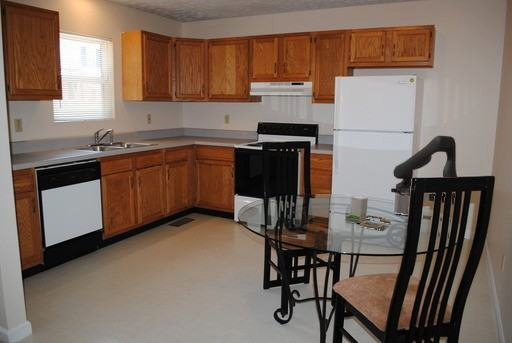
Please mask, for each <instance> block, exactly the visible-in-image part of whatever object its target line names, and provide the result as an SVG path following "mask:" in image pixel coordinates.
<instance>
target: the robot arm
mask: <svg viewBox="0 0 512 343" xmlns="http://www.w3.org/2000/svg"><path fill="white" fill-rule="evenodd" d="M438 152H439V153H445V155H446V161H445V165H444V166H443V169H442V178H443V177H457V178H458V174H457V167H456V166H457V163H456V162H457V154H456V153H457V145H456V140H455V138H454V137H452V136H448V135H436V136H435V137H433V138H432V140H431V141H430V142H428V144H426V145H425V146H424V147H422V149H421V148H420V150H419V151H417V152H416V153H414V154H412V156H410V157H409V158H408V159H406V160H404V161H403V162H401V163H399V164H398V165H396V166H395V167H394V169H393V173H392V174H393V176H394V178H395V179H398V180H401V181H400V182H398V183H396V184H395V187H392V188H391V189H390V192H391V193H395V195H394V211H393V213H394V212H396V213H403V214H408V207H409V208H410V202H409V196H410V197H411V195H410V189H411V187H412V185H411V179H412V180H413V176H414V171H415V170H419V169H421V168H423V167H425V166H427V165H428V164H429V163H430V162H431V161H432V157H433V156H432V155H434V154H436V153H438ZM434 196H435V194H433V193H432V194H425V195H424V202H434ZM444 197H445V194H444V193H443V196H442V202H441V203H442V204H445V203H444ZM454 198H455V193H453V194H452V205H453V206H455V205H454Z"/></svg>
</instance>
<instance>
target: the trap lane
mask: <svg viewBox="0 0 512 343" xmlns="http://www.w3.org/2000/svg"><path fill="white" fill-rule="evenodd" d="M368 217H372V218H379V219H380V222H384V223H390V224H391V220H387V219H386V217H383V216H377V215H371V214H366V218H368ZM346 221H347V222H346ZM345 222H346V223H348V222H354V223H360V225H359V227H360V226H362V227H367V228H374V229H378V230H377V231H380V230H379V229H381V228H383V229H385V224H383V223H380V222H379V223H380V225H378V226H377V225H371V224H367V221H366V222H365V221H359V220H358V219H352V218H350V213H349V214H347V215H345ZM354 223H353V224H354ZM362 227H361V228H362ZM367 228H366V229H367ZM381 230H382V229H381Z"/></svg>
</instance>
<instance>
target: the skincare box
mask: <svg viewBox="0 0 512 343" xmlns="http://www.w3.org/2000/svg"><path fill="white" fill-rule="evenodd" d="M368 201H369V199H368V197H365V196H360V195H354V196H351V197H350V208H349V209H350V210H349V214H350V218H352V219H358V220H359V221H366V222H367V220H366V215H368V214H367V212H368Z"/></svg>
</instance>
